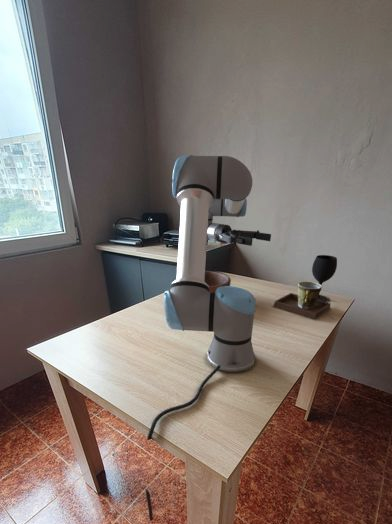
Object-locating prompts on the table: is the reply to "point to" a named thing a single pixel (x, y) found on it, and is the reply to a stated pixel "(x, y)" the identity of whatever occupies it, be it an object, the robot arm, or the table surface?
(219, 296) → the robot arm
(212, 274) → the wooden bowl
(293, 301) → the tray
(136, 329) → the table surface
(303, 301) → the ceramic cup
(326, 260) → the wine glass
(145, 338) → the table surface
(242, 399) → the table surface
